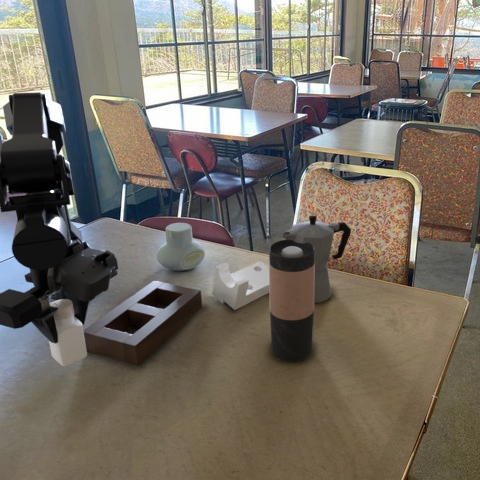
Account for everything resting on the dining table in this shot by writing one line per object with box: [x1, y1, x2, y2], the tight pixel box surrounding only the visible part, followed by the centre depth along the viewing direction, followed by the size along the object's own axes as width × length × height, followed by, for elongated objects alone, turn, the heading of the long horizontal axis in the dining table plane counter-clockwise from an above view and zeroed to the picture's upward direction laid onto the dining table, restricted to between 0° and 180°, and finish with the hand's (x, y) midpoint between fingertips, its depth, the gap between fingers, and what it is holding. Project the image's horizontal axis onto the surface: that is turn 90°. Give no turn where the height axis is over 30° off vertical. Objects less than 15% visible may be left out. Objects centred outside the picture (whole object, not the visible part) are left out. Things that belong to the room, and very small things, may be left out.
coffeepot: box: [281, 214, 352, 304], centre depth 101 cm, size 15×9×18 cm, turn 113°
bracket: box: [211, 260, 269, 311], centre depth 102 cm, size 13×7×8 cm, turn 140°
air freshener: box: [156, 222, 206, 272], centre depth 113 cm, size 11×8×10 cm
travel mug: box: [268, 239, 315, 363], centre depth 82 cm, size 8×8×20 cm
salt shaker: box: [48, 299, 88, 367], centre depth 72 cm, size 4×4×10 cm
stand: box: [83, 280, 203, 366], centre depth 90 cm, size 11×20×4 cm, turn 161°
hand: (67, 333), depth 72 cm, fingers closed on salt shaker, 5 cm apart
